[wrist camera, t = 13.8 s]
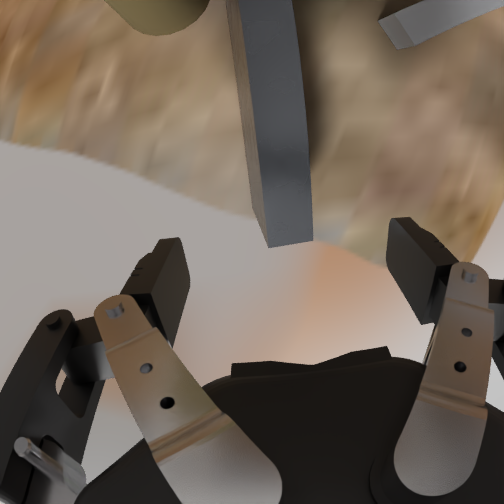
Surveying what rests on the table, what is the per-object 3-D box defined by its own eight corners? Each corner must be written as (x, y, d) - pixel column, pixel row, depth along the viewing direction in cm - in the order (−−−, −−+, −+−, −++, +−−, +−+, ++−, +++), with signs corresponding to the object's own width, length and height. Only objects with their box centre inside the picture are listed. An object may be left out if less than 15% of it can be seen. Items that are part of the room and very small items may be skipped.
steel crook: (253, -64, 12) (269, -108, 6) (286, 203, 21) (313, 240, 16) (123, -45, 11) (98, -83, 6) (162, 223, 21) (148, 268, 15)
